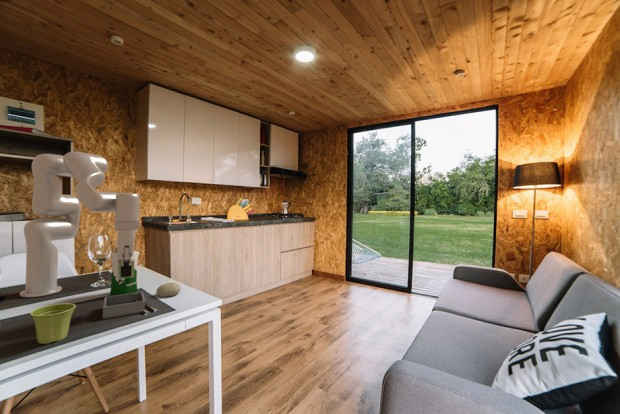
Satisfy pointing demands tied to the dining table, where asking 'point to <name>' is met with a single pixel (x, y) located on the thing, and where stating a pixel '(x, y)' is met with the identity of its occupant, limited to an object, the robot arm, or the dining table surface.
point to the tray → (123, 305)
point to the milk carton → (123, 284)
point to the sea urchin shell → (168, 289)
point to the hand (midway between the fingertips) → (125, 274)
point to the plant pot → (52, 322)
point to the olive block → (123, 265)
